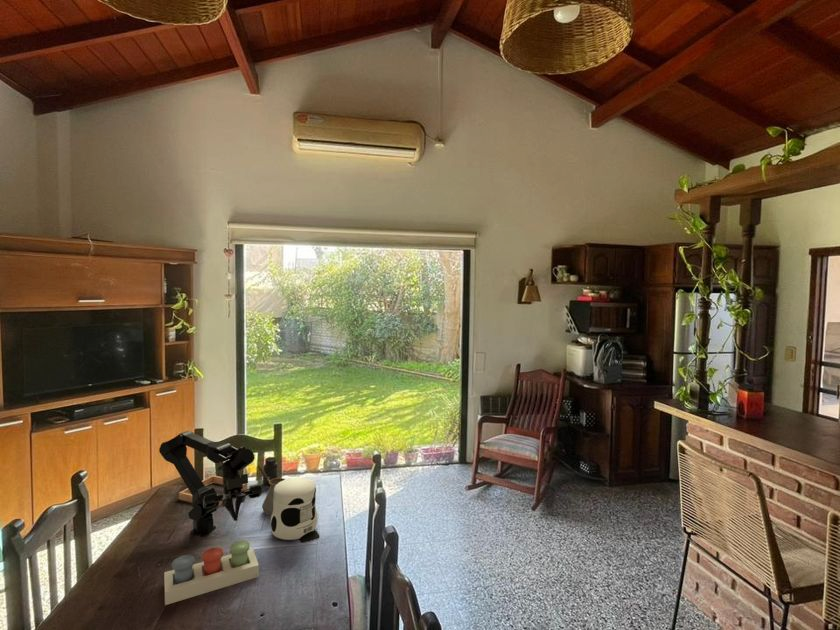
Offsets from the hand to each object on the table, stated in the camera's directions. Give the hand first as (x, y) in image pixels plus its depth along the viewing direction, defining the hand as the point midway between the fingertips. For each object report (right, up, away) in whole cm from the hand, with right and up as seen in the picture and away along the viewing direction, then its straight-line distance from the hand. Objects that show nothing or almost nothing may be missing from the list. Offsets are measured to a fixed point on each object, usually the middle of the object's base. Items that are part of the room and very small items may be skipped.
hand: (235, 520), depth 147 cm
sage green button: (+4, -11, -7) cm, 13 cm away
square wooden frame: (-29, -10, +45) cm, 54 cm away
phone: (+18, -13, +19) cm, 30 cm away
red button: (-3, -11, -11) cm, 16 cm away
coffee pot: (-1, -11, +36) cm, 37 cm away
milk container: (+15, -13, +18) cm, 27 cm away
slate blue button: (-10, -11, -15) cm, 21 cm away
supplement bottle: (-8, -10, +57) cm, 58 cm away
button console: (-3, -14, -11) cm, 18 cm away
